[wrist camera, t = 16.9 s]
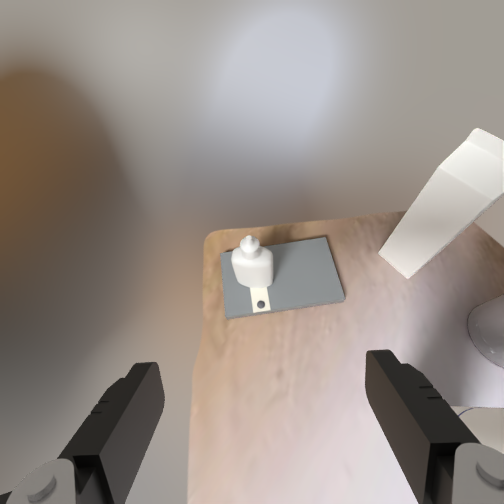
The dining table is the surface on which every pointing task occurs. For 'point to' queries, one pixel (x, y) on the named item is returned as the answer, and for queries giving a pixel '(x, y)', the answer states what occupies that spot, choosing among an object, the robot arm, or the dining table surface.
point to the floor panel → (285, 281)
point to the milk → (448, 203)
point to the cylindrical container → (484, 424)
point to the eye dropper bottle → (252, 263)
